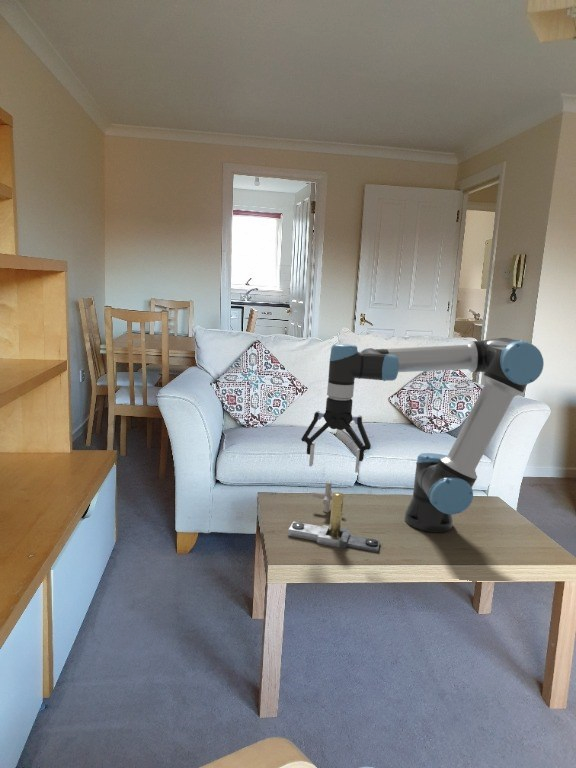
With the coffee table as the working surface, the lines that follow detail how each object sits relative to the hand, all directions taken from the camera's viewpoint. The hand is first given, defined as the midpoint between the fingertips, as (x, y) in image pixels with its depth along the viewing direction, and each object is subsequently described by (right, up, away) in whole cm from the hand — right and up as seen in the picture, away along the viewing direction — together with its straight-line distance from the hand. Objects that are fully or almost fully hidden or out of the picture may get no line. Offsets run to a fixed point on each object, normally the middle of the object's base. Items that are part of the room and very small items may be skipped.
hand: (333, 468), depth 156 cm
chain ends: (0, -21, -1) cm, 21 cm away
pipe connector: (-1, -18, +20) cm, 27 cm away
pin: (0, -21, -1) cm, 21 cm away
